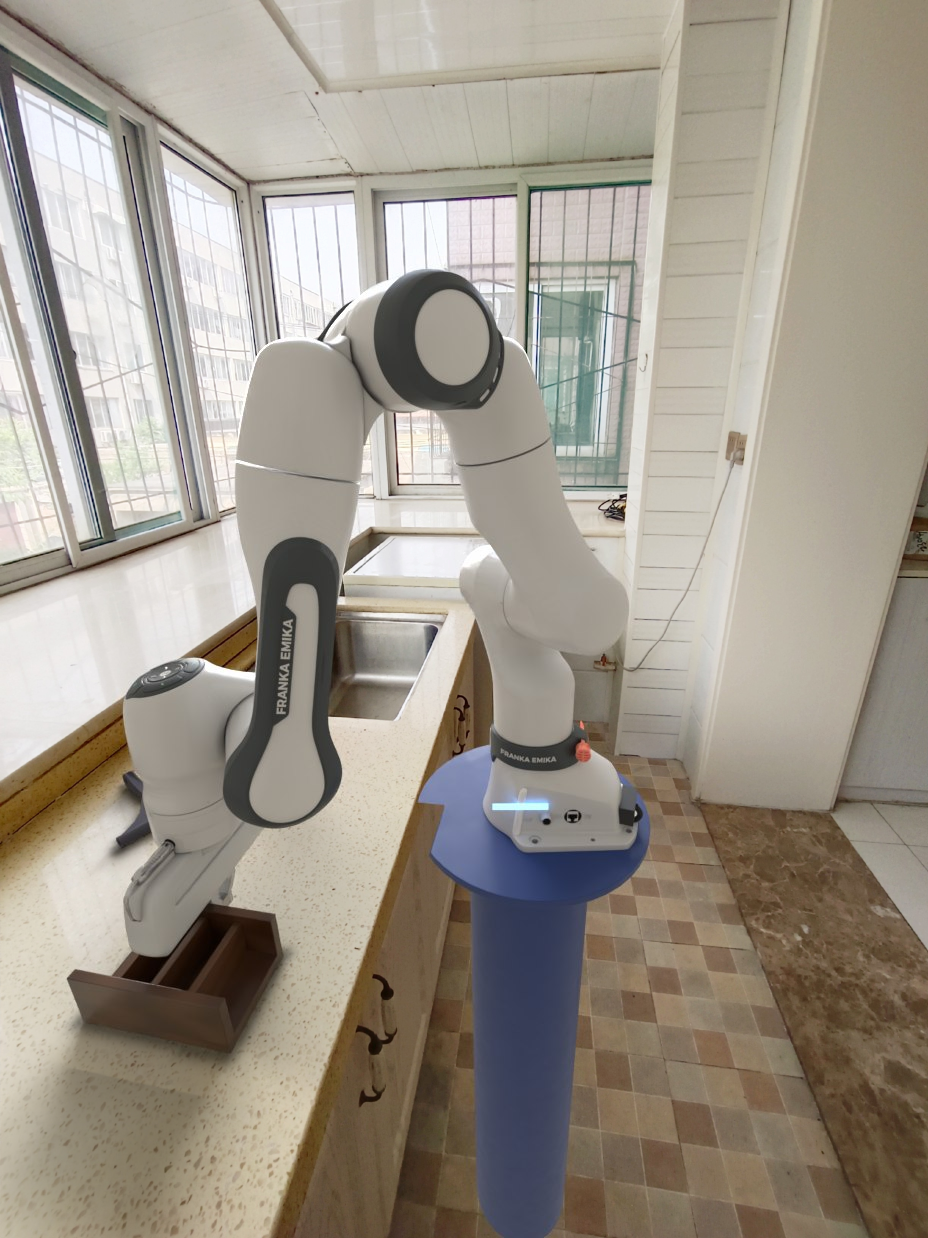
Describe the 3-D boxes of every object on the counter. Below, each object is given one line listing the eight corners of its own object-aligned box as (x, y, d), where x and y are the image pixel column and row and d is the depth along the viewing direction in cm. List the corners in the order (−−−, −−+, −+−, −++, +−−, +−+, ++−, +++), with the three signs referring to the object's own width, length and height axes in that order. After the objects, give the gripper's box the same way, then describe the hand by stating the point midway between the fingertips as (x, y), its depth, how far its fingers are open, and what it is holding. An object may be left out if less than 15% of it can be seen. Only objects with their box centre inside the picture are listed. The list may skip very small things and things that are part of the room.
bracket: (173, 762, 93) (169, 748, 92) (220, 794, 85) (217, 779, 84) (79, 809, 83) (74, 794, 82) (123, 851, 74) (118, 835, 73)
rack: (283, 954, 59) (275, 913, 57) (230, 1054, 50) (218, 1009, 48) (155, 932, 62) (143, 892, 60) (83, 1022, 53) (65, 978, 51)
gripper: (152, 895, 46) (184, 1006, 51) (274, 756, 65) (289, 846, 70) (89, 885, 47) (127, 994, 52) (227, 751, 66) (245, 840, 71)
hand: (221, 908), depth 61 cm, fingers closed
